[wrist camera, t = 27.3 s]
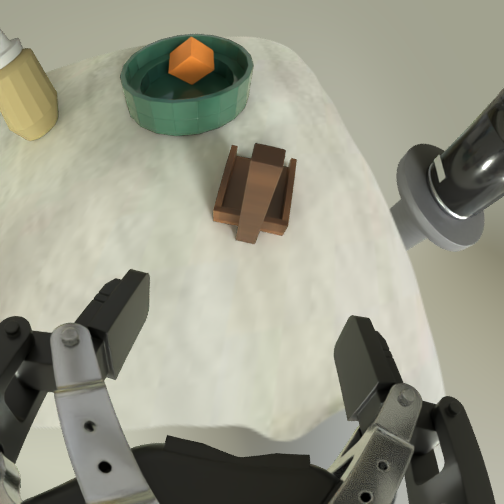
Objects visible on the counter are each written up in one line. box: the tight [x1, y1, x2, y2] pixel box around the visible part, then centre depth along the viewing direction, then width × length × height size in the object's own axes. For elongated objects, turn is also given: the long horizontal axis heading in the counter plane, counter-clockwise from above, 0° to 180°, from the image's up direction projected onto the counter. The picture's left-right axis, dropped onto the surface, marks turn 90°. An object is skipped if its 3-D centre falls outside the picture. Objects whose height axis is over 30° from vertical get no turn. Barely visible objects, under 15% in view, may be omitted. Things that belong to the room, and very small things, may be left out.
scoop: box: [213, 143, 297, 244], centre depth 22 cm, size 9×7×12 cm
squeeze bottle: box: [0, 29, 58, 141], centre depth 20 cm, size 8×8×18 cm
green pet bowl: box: [120, 34, 254, 136], centre depth 29 cm, size 15×15×6 cm
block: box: [168, 37, 214, 85], centre depth 30 cm, size 4×4×4 cm
